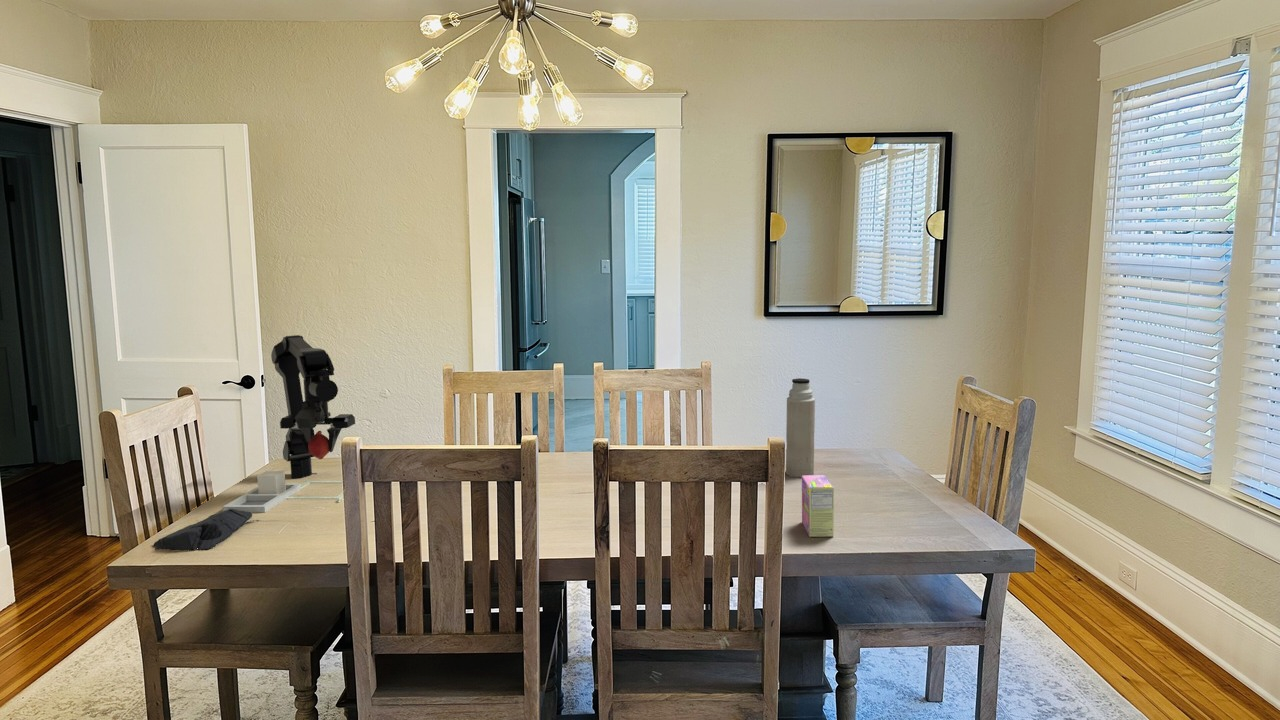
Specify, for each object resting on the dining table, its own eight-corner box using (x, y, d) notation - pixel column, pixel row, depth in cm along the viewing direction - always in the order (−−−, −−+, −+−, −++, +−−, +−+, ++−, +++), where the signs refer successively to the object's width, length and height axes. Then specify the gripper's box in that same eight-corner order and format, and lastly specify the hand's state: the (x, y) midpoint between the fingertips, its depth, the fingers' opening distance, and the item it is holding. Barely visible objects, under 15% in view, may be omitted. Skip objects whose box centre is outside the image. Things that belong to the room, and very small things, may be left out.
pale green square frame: (307, 485, 232) (307, 481, 232) (362, 485, 231) (362, 480, 231) (280, 502, 216) (280, 498, 216) (339, 502, 215) (338, 498, 215)
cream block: (268, 492, 222) (266, 470, 221) (286, 492, 222) (284, 470, 221) (259, 497, 217) (257, 476, 216) (277, 497, 217) (275, 476, 216)
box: (800, 522, 195) (801, 474, 193) (824, 522, 194) (825, 474, 193) (808, 537, 184) (809, 487, 183) (833, 537, 184) (834, 487, 183)
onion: (316, 463, 218) (314, 434, 217) (304, 460, 221) (302, 431, 220) (335, 458, 223) (333, 430, 221) (324, 455, 226) (322, 427, 225)
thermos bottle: (810, 469, 240) (812, 376, 236) (816, 477, 232) (817, 381, 228) (783, 469, 240) (784, 377, 236) (788, 477, 232) (789, 381, 228)
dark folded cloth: (264, 521, 203) (263, 502, 202) (208, 554, 181) (206, 533, 180) (208, 519, 205) (206, 501, 204) (145, 551, 183) (143, 531, 182)
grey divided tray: (263, 492, 225) (262, 483, 225) (301, 492, 225) (301, 483, 224) (223, 516, 205) (222, 506, 205) (265, 516, 205) (264, 506, 205)
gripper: (267, 402, 212) (272, 459, 214) (337, 401, 211) (341, 459, 213) (287, 394, 223) (292, 449, 225) (354, 393, 222) (357, 449, 224)
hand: (320, 451), depth 222 cm, fingers closed on onion, 6 cm apart
